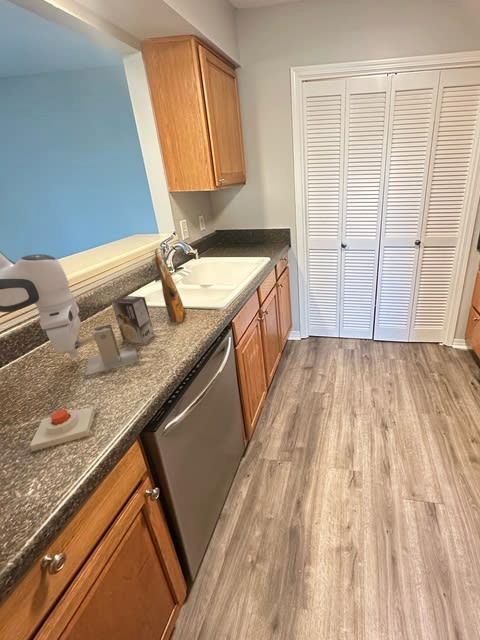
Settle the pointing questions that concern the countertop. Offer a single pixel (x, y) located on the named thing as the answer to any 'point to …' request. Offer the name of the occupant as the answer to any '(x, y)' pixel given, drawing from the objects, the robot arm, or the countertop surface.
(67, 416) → the button
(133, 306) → the coffee box
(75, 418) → the control block
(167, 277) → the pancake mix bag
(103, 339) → the toaster bracket
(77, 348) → the toast lever
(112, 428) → the countertop surface
